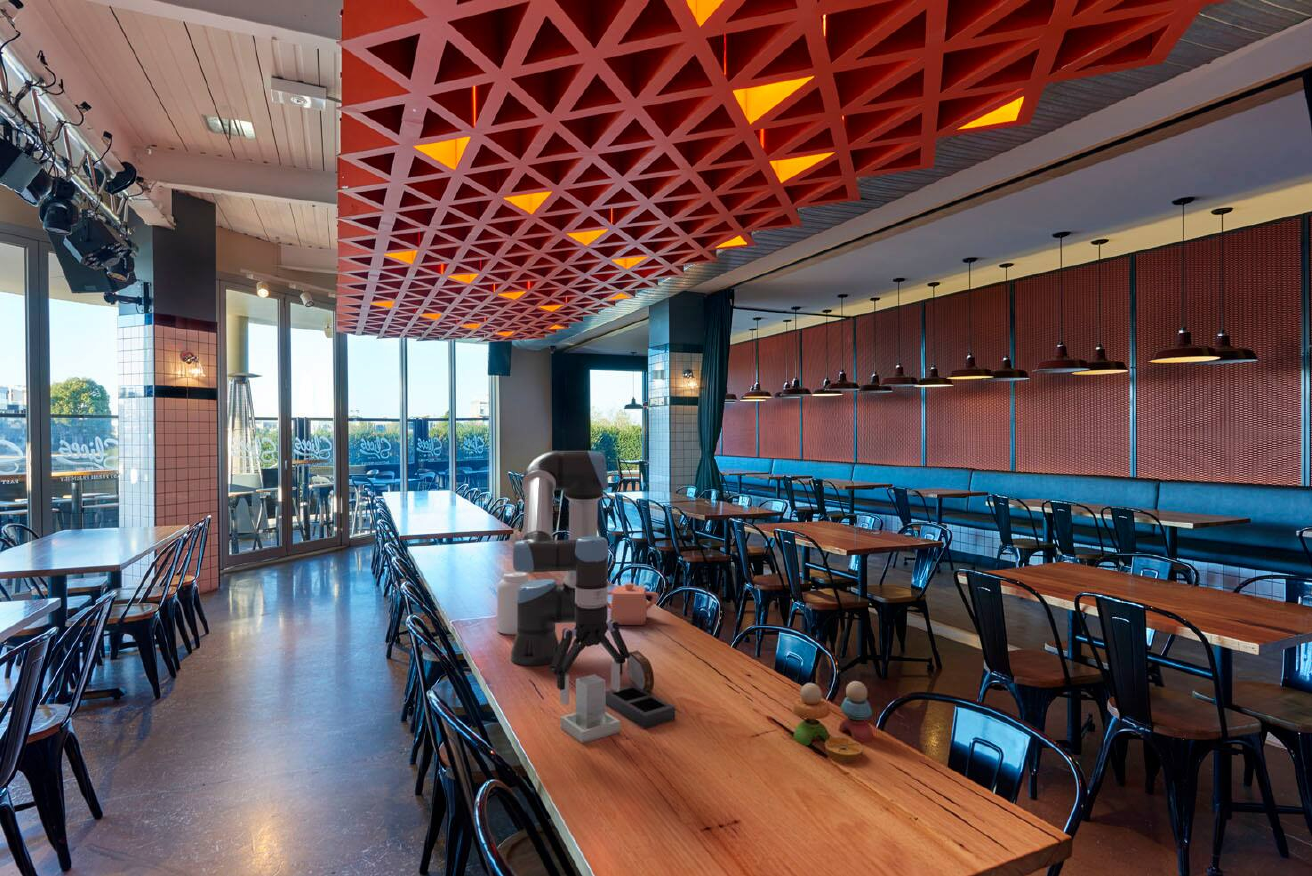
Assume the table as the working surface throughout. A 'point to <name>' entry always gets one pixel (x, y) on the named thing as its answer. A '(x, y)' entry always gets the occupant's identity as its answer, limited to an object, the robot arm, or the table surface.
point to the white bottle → (509, 601)
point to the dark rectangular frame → (640, 706)
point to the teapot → (630, 604)
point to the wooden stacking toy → (855, 722)
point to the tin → (640, 671)
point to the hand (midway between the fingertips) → (590, 696)
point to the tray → (592, 733)
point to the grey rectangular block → (590, 701)
